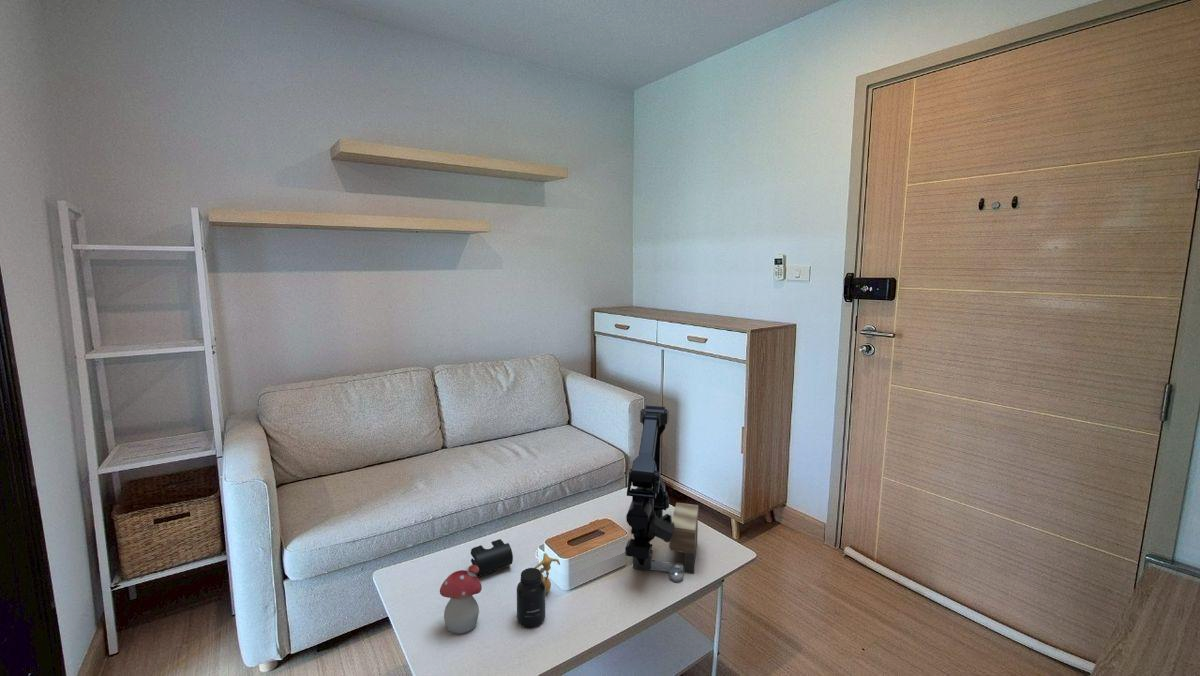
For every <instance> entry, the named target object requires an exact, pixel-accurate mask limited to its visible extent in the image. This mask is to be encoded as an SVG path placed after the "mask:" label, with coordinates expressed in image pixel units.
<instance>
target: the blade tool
mask: <svg viewBox="0 0 1200 676" xmlns="http://www.w3.org/2000/svg"><path fill="white" fill-rule="evenodd" d="M652 557H653V550H652V549H651V551H650V556H649V558H647V559H645V561H644V565H640V564H639V562H638V560H637V558H636V557H632V569H639V570H644V571H652V570H655V571H661V572H668V573H670V569H672V568H679V569H681V570H682V571H683V572H684V564H683V563H679V562H671V561H664V560H658V559H657V560H656V559H653V558H652Z"/></svg>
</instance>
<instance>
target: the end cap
mask: <svg viewBox="0 0 1200 676" xmlns="http://www.w3.org/2000/svg"><path fill="white" fill-rule="evenodd" d="M490 543H491V545H492V547H491V548H484V547H483V545H482V544H481V545H478V546H474V547H473V548H471V549H470V555H471V557H472V558H470V559H471V560H470V562H471V565H476V566H478V567H479V572H478V573H477V574H475V576H476V577H477V578H478V577H481V576H484V575H487V574H489V573H493V572H495V571H497V570H501V569H503V568H506V567H509V566H510V565H512V564H513V561H514V555H513V551H512V547H511V545H510V543H509V542H507V543H505V542H504V541H503V540H502V539H500V538H499V539H495V540H493V541H491V542H490Z"/></svg>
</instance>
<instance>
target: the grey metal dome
mask: <svg viewBox="0 0 1200 676" xmlns="http://www.w3.org/2000/svg"><path fill="white" fill-rule="evenodd" d="M668 578H669V581H670V582H672V583H675V584H679V583H680V584H681V583H682V582H683V581H684V570H683V571H682V570H681V569H679V568H672V569H670V572H669V577H668Z"/></svg>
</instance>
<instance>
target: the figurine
mask: <svg viewBox="0 0 1200 676" xmlns="http://www.w3.org/2000/svg"><path fill="white" fill-rule="evenodd" d="M542 558H543V559H542V560H541V561H540V562H539V563H538V564H537V565H536V566H534V567H533V568H536V569H539V567H541V566H543V567H541V568H540V569H539V570H540V572H541V580H542V581H543V582H544V584H545V594H547V593H549V591H550V590H551V587H552V582H551V580H550V578H549V576H550V574H549V571H550V570H551V567H552V566H551V564H552V562H556V564H557V565H559V566H561V563H560V560H559V559H557V558H552V557H549V555H548V554H547V552H545V553H543V557H542ZM545 571H546V573H545V575H546V576H544V574H543V573H544V572H545Z"/></svg>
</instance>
